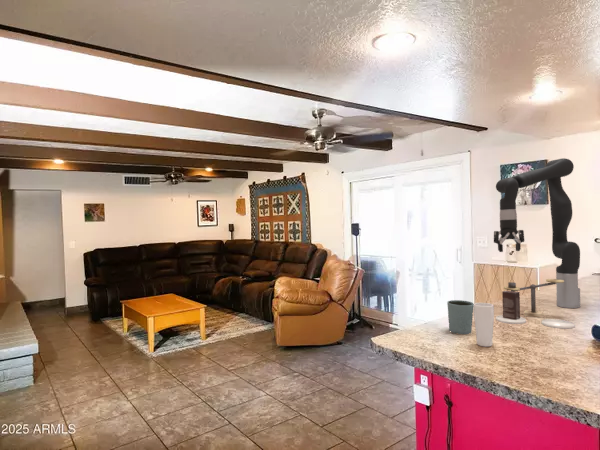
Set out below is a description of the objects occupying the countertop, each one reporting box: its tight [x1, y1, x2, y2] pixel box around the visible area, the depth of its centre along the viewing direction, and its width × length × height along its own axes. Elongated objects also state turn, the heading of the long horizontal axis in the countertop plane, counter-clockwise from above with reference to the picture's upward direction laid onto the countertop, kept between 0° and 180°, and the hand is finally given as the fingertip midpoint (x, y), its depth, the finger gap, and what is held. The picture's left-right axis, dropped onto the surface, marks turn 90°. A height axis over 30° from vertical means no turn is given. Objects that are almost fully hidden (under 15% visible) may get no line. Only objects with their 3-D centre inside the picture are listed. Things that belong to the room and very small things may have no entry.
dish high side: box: [541, 318, 576, 329], centre depth 170 cm, size 12×12×1 cm
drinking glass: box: [473, 302, 495, 348], centre depth 146 cm, size 7×7×15 cm
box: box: [501, 290, 521, 320], centre depth 179 cm, size 6×4×12 cm
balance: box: [503, 278, 564, 319], centre depth 187 cm, size 24×7×17 cm, turn 60°
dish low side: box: [495, 314, 527, 325], centre depth 179 cm, size 12×12×1 cm
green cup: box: [446, 299, 475, 335], centre depth 164 cm, size 10×10×12 cm
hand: (509, 251), depth 197 cm, fingers open, 8 cm apart
